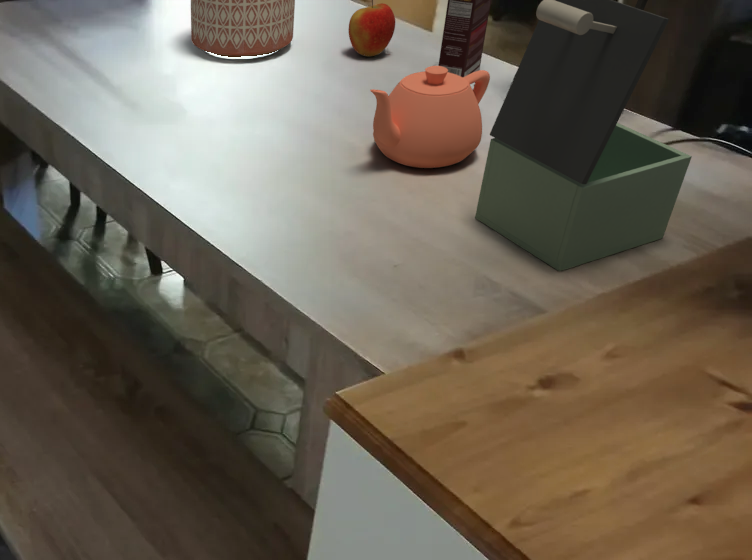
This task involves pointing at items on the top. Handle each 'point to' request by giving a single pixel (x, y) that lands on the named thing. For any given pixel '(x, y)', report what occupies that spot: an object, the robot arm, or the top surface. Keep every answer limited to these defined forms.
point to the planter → (242, 26)
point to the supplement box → (464, 36)
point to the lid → (576, 81)
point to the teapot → (430, 117)
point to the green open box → (583, 199)
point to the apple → (371, 29)
